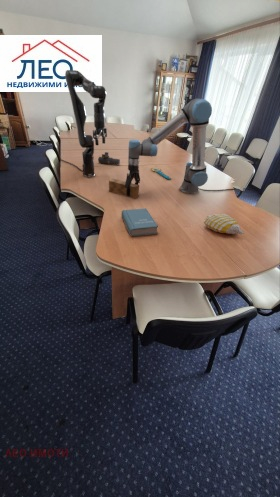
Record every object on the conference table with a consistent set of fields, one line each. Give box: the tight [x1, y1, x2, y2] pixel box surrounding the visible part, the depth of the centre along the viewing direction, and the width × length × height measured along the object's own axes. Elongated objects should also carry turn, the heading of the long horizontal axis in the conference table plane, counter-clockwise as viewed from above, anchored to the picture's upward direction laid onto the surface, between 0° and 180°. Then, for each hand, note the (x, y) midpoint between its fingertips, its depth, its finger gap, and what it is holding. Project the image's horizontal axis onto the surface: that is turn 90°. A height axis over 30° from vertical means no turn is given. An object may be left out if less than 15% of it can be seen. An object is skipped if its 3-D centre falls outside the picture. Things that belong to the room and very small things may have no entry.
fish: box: [203, 213, 245, 235], centre depth 133 cm, size 25×8×20 cm
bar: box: [108, 178, 140, 199], centre depth 169 cm, size 23×6×9 cm, turn 62°
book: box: [121, 207, 159, 237], centre depth 133 cm, size 23×16×5 cm
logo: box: [150, 167, 172, 180], centre depth 216 cm, size 34×10×1 cm, turn 16°
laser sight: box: [97, 151, 121, 166], centre depth 229 cm, size 10×22×10 cm, turn 78°
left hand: (100, 144), depth 169 cm, fingers open, 8 cm apart
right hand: (132, 193), depth 168 cm, fingers open, 12 cm apart
